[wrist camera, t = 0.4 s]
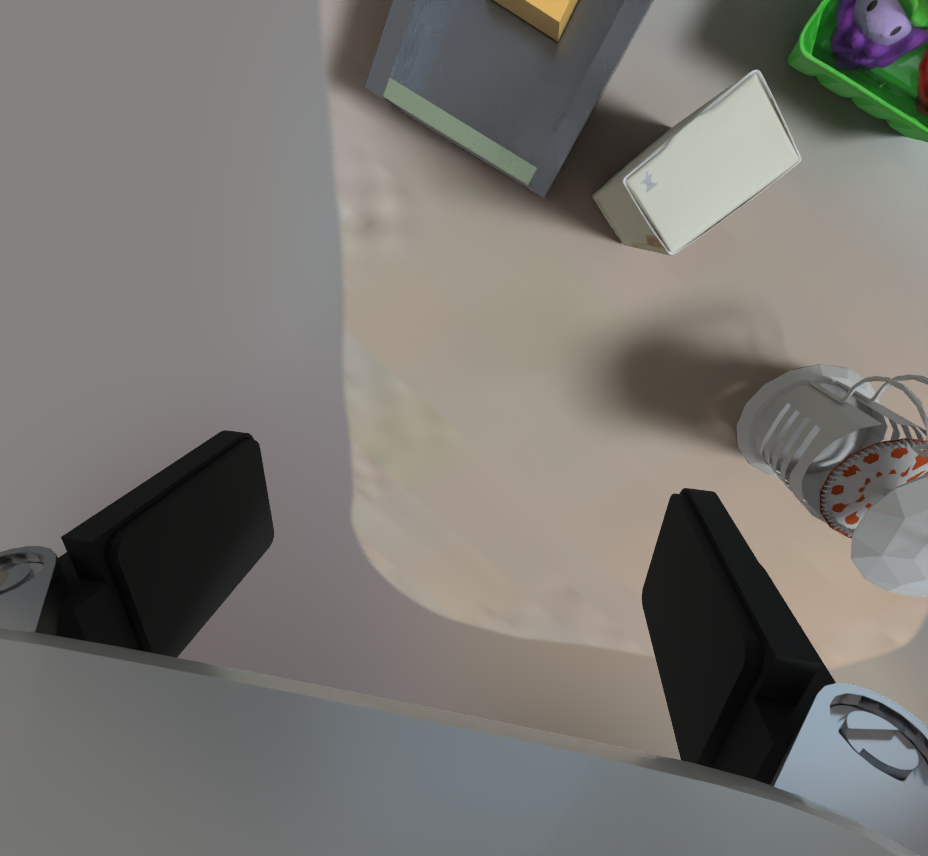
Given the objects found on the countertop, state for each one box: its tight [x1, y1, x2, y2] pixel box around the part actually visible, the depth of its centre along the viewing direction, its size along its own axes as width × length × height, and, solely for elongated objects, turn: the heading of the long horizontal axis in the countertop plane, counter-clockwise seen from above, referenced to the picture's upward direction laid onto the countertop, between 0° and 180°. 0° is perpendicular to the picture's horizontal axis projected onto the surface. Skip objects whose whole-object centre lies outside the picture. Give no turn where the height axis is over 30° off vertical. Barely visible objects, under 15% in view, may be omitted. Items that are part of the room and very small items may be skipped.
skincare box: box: [593, 70, 802, 255], centre depth 25 cm, size 6×4×12 cm
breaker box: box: [365, 0, 654, 199], centre depth 26 cm, size 14×12×4 cm
